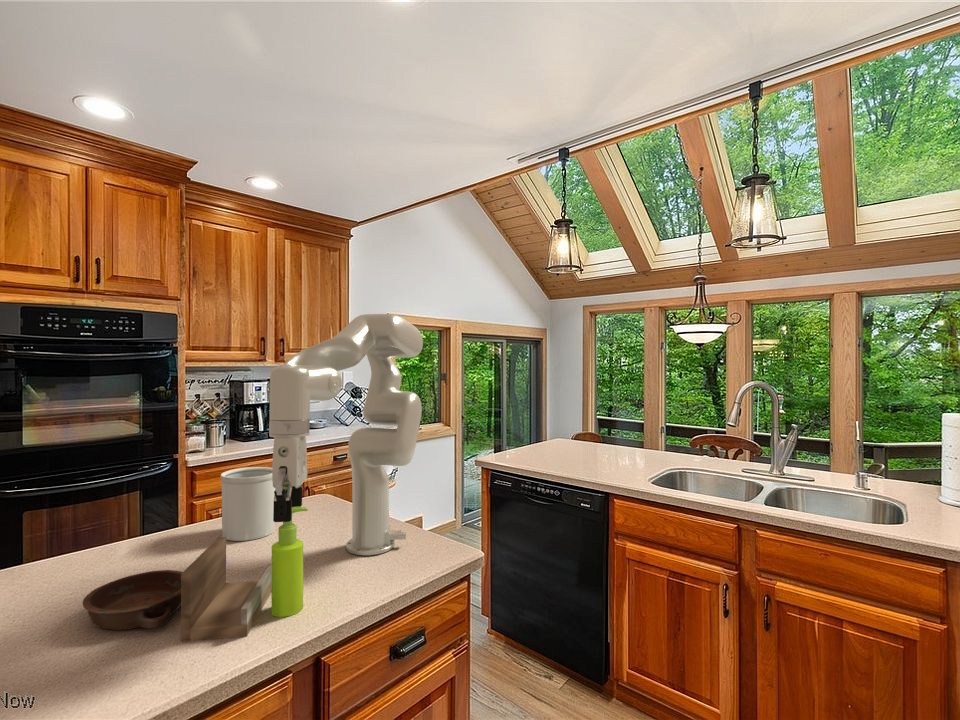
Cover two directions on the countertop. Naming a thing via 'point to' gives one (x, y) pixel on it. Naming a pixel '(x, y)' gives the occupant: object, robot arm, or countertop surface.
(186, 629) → the board
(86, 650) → the countertop surface
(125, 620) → the dish
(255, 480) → the utensil holder
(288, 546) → the soap dispenser
